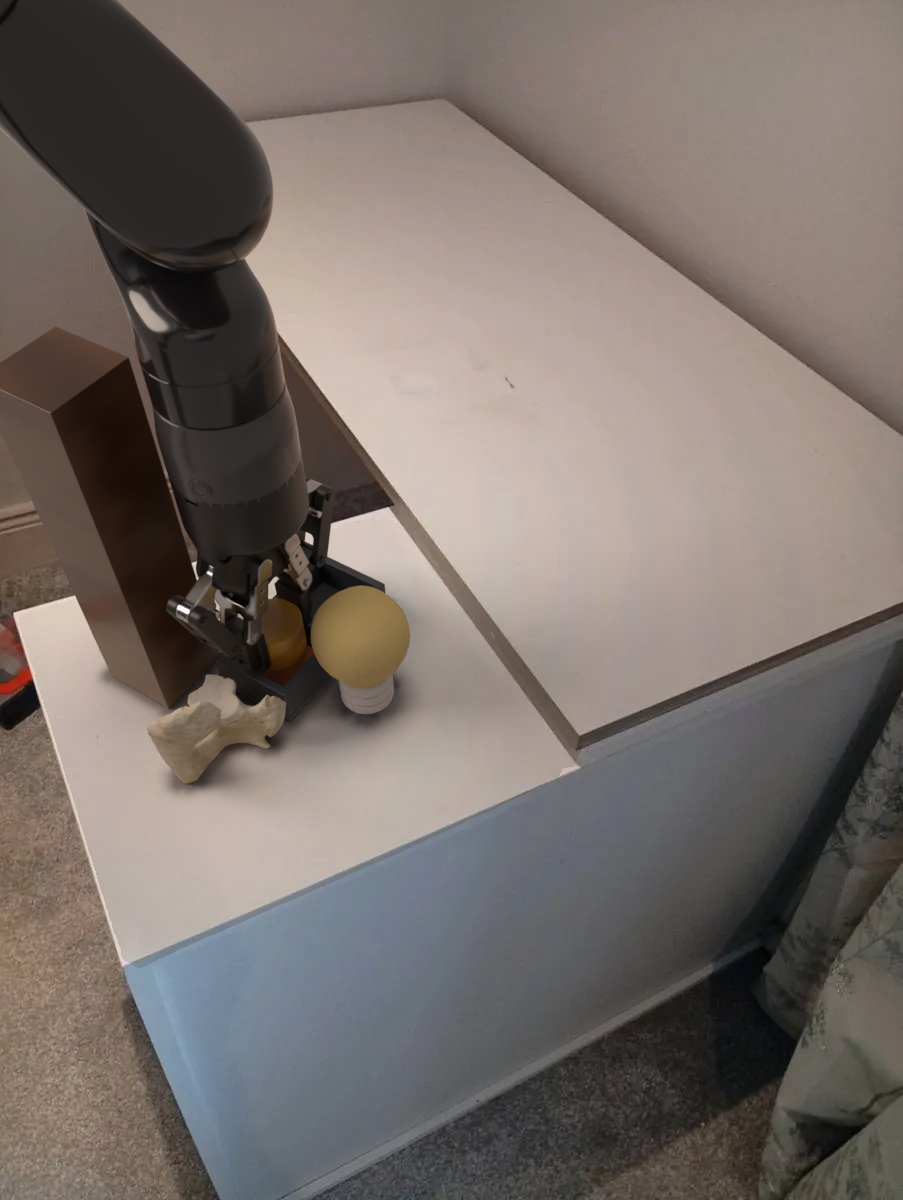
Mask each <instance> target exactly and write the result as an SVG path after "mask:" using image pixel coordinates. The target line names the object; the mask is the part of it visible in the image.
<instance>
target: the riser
mask: <svg viewBox="0 0 903 1200" xmlns="http://www.w3.org/2000/svg"><path fill="white" fill-rule="evenodd" d="M130 359H131V358H130V357H129V356H126V355H124V354H122V353H120V352H117V351H115V350H113V349H110V348H108V347H106V346H104V345H101V344H99V343H96V342H95V341H92V340H89V339H87V338H85V337H82V336H79V335H77V334H75V333H73V332H70V331H68V330H67V329H63V328H61V327H59V326H53V327H52V328H50V329H49V330H48V331H46V332H44V333H43V334H41V335H40V336H38V337H37V338H35V339H34V340H32V341H31V342H29V343H27V344H26V345H25V346H23V347H22V348H20V349H18V350H16V352H14V353H12V354H11V355H10V356H7V358H5V359H3V360H2V361H0V434H1V436H2V439H3V441H4V443H5V445H6V448H7V450H8V451H9V454H10V456H11V459H12V460H13V463H14V465H15V467H16V469H17V471H18V474H19V476H20V478H21V480H22V483H23V485H24V487H25V489H26V491H27V494H28V496H29V498H30V501H31V502H32V505H33V507H34V509H35V511H36V513H37V515H38V517H39V520H40V522H41V524H42V527H43V529H44V531H45V533H46V535H47V537H48V539H49V542H50V544H51V547H52V548H53V550H54V553H55V555H56V557H57V559H58V562H59V564H60V566H61V568H62V571H63V573H64V575H65V577H66V579H67V582H68V584H69V586H70V589H71V590H72V593H73V594H74V597H75V598H76V599H75V600H76V602H77V603H78V605H79V607H80V610H81V612H82V615H83V616H84V619H85V621H86V623H87V625H88V627H89V630H90V632H91V634H92V636H93V639H94V641H95V642H96V643H95V644H96V645H97V648H98V649H99V652H100V653H101V656H102V658H103V660H104V663H105V665H106V667H107V669H108V671H109V673H110V675H111V677H113V678H115V679H116V680H118V681H119V682H121V683H123V684H125V685H126V686H128V687H130V688H132V689H133V690H135V691H137V692H138V693H140V694H141V695H143V696H145V697H147V698H148V699H151V700H152V701H154V702H156V703H157V704H159V705H161V706H163V707H164V708H166V709H168V710H170V708H172V707H173V705H174V704H175V703H176V702H178V700H179V699H180V698H181V697H182V696H183V695H184V694H185V693H186V692H187V691H188V690H189V689H190V688H191V687H192V686H193V685H194V684H195V682H197V681H198V680H199V679H200V677H201V676H202V675H203V674H204V673H206V672H207V670H208V669H209V668H211V666H212V665H213V664H214V663H216V661H215V657H216V656H217V655H218V654H219V653H220V651H218V650H216V649H215V648H213V647H211V646H209V645H206V644H204V643H202V642H200V641H199V640H198V639H197V638H196V637H195V636H194V635H193V634H191V633H190V632H189V631H188V630H187V629H186V628H185V627H184V626H183V625H181V624H180V623H179V622H178V621H177V620H176V619H175V618H174V617H172V616H171V615H170V614H169V613H168V612H167V610H166V606H167V603H168V601H169V600H170V598H171V597H172V596H174V595H180V596H182V597H183V598H185V597H186V596H187V595H188V593H189V592H190V590H191V589H192V587H193V586H194V584H195V583H196V582H197V580H198V579H197V574H196V571H195V569H194V566H193V562H192V560H191V559H192V558H191V556H190V552H189V549H188V545H187V544H186V539H185V537H184V534H183V529H182V527H181V524H180V520H179V516H178V514H177V510H176V508H175V504H174V500H173V497H172V494H171V491H170V488H169V485H168V480H167V478H166V474H165V471H164V467H163V464H162V461H161V458H160V454H159V451H158V448H157V444H156V441H155V438H154V434H153V431H152V428H151V425H150V422H149V419H148V415H147V411H146V408H145V406H144V402H143V399H142V395H141V392H140V389H139V386H138V382H137V378H136V376H135V373H134V370H133V367H132V363H131V360H130Z"/></svg>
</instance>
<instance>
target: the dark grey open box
mask: <svg viewBox="0 0 903 1200" xmlns="http://www.w3.org/2000/svg"><path fill="white" fill-rule="evenodd" d="M311 575H312V577H313V579H312V583H311V585H310V587H309V591H310V597H311V602H312V610H311V613H310V614H311V619H312V621H311V623H310V624H309V625H308V626H307V627H306V628H305V635H306V640H307V649H306V652H305V654H304V656H303V658H302V659H301V660H300V661H299V662H298V663H296V664H295V665H293V666H292V667H289V668H287V669H283V670H267V671H266V672H265V673H260V672H259V671H256V672H253V671H251V670H249V669H247V668H245V667H244V666H242V665H240V664H238V663H237V662H236V661H235V658H230V657H228V656H226V655H224V654H223V653H222V652H220V651H219V654H218V655H217V656H216V657H215V664H216V667H217V670H218V673H219V674H218V675H219V676H221V677H223V678H224V679H225V678H230V679H232V680H234V681H235V682H236V693H238V694H239V695H242V696H243V697H245V698H247V699H249V700H251V701H253V702H255V703H256V704H259V703H260V702H261V701H262V700H263V698H264V697H265V696H266V695H269V696H270V697H271V696H274V697H277V698H280V699H281V700H283V701H284V702H286V712H285V719H284V720H286V721H289V722H292V721H293V720H294V719H295V718H296V717H297V715H299V713H300V712H301V711H302V710H303V708H305V706H306V705H307V704H308V703H309V701H311V699H312V698H313V697H314V696H315V695H316V693H317V692H318V691H319V690H320V689H321V688H322V686H323V685H324V684H325V683H326V682H327V681H328V680H329V679H330V677H332V676H331V675H330V674H329V673H327V672H326V671H325V670H324V669H323V667H322V666H321V665H320V664H319V662H318V660H317V658H316V656H315V655H314V651H313V648H312V644H311V626H312V622H313V619H314V616H315V614H316V612H317V610H318V609H319V608H320V606H321V605H322V604H323V603H324V602H325V601H326V600H327V599H329V598H330V597H331V596H333V595H334V594H336V593H338V592H340V591H342V590H344V589H347V588H350V587H354V586H369V587H373V588H375V589H378V590H380V591H382V592H384V593H385V594H386V584H385V583H384V582H381V581H379V580H377V579H376V578H373V577H371V576H369V575H367V574H365V573H363V572H361V571H359V570H357V569H354V568H352V567H351V566H349V565H348V566H347V565H346V564H344V563H342V562H339V561H337V560H335V559H333V558H331V557H329V556H327V560H326V562H325V563H324V565H323V566H322V567H320V568H318V567H316V566H315V567H314V569H313V570H312V572H311ZM272 598H277V594H275V595H274V596H273V597H272Z"/></svg>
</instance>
